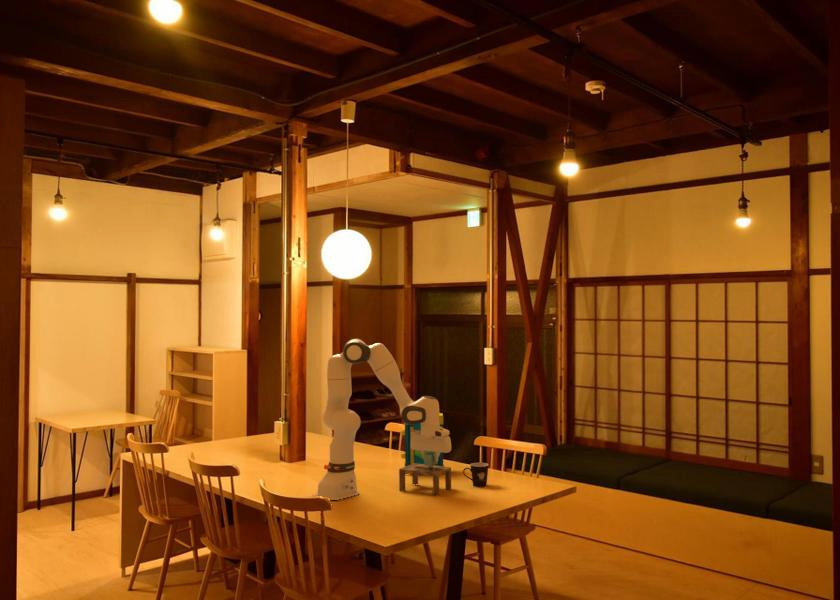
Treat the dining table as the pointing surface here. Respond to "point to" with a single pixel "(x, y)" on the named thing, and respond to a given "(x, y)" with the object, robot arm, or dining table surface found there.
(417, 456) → the decorative book
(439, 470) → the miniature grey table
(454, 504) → the dining table surface
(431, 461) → the peg
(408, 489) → the dining table surface
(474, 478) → the coffee mug
